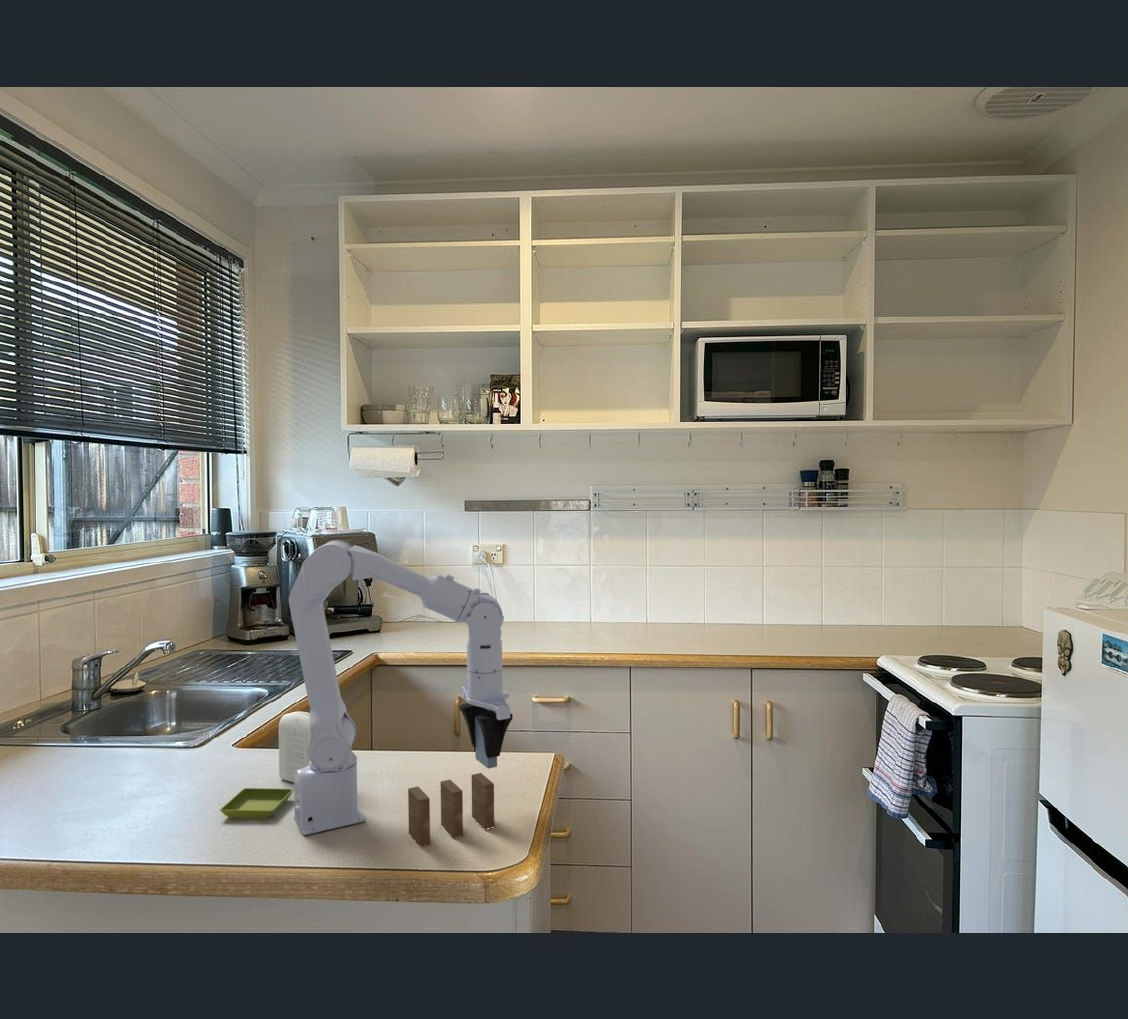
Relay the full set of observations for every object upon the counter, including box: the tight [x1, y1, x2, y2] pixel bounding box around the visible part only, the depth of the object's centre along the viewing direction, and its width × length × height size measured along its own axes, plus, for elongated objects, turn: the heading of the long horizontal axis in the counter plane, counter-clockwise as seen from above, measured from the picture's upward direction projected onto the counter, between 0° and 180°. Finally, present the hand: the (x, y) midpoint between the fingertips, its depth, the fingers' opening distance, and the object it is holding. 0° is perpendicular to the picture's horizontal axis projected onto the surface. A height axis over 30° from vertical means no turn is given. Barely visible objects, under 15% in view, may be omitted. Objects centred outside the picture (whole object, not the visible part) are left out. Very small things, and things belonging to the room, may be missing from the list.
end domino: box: [474, 717, 498, 769], centre depth 124 cm, size 2×5×7 cm, turn 30°
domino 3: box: [471, 772, 495, 830], centre depth 119 cm, size 2×5×7 cm, turn 30°
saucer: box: [219, 787, 294, 819], centre depth 125 cm, size 9×9×2 cm
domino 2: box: [440, 779, 464, 839], centre depth 116 cm, size 2×5×7 cm, turn 30°
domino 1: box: [407, 786, 431, 847], centre depth 114 cm, size 2×5×7 cm, turn 30°
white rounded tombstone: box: [278, 711, 311, 783], centre depth 136 cm, size 10×4×12 cm, turn 60°
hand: (485, 751), depth 124 cm, fingers closed on end domino, 5 cm apart
